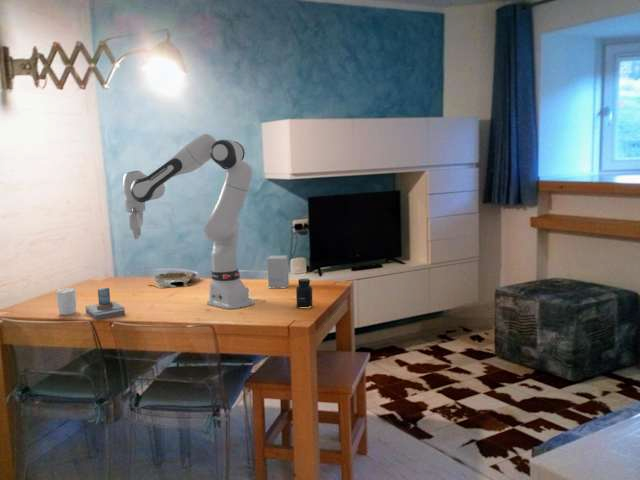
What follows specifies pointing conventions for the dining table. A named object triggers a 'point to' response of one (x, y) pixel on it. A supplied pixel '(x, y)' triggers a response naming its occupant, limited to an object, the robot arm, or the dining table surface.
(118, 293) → the dining table surface
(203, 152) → the robot arm
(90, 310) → the dock
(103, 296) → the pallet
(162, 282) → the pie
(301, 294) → the supplement bottle
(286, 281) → the supplement box
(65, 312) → the white cup
